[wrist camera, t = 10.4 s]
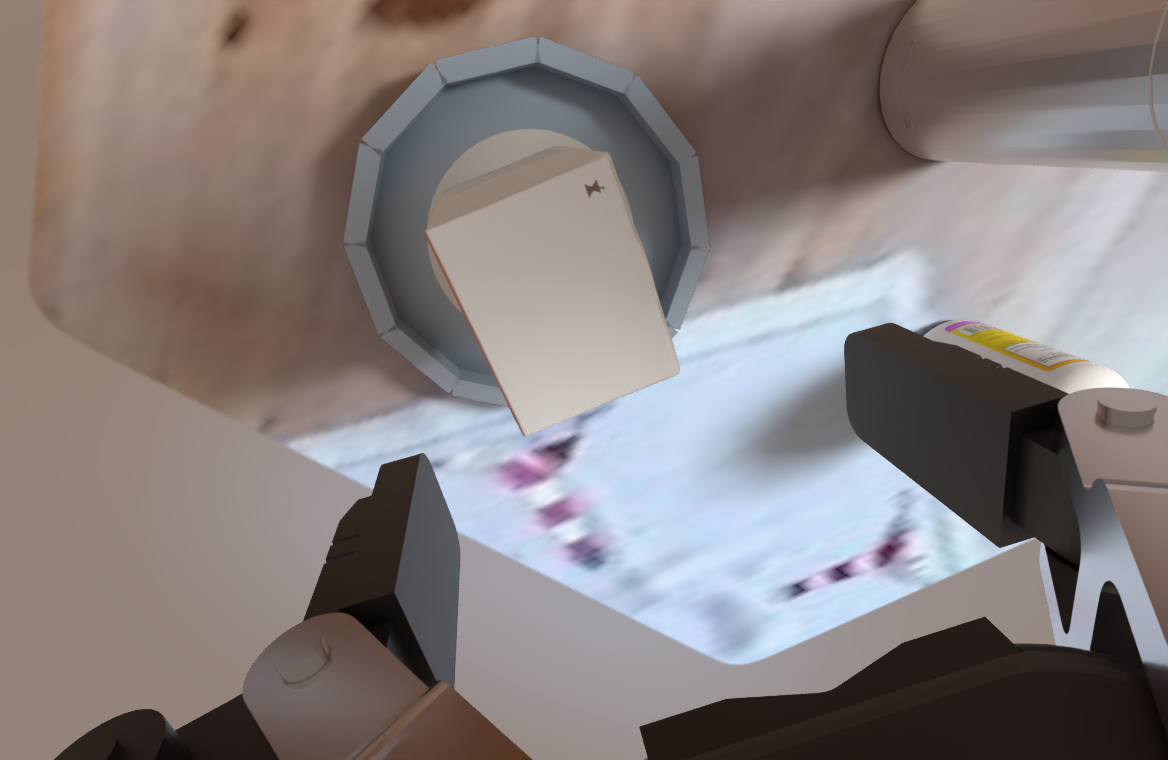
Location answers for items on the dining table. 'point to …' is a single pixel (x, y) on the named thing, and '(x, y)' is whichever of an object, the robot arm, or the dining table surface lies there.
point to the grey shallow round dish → (493, 140)
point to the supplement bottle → (1026, 356)
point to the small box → (553, 284)
